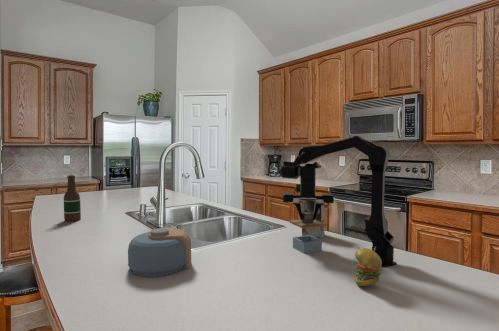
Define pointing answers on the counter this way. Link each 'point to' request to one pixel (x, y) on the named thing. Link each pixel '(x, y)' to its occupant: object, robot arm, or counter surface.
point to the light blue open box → (307, 244)
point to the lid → (307, 221)
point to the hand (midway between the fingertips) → (307, 220)
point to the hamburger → (367, 267)
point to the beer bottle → (72, 201)
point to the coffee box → (309, 207)
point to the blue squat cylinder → (159, 252)
